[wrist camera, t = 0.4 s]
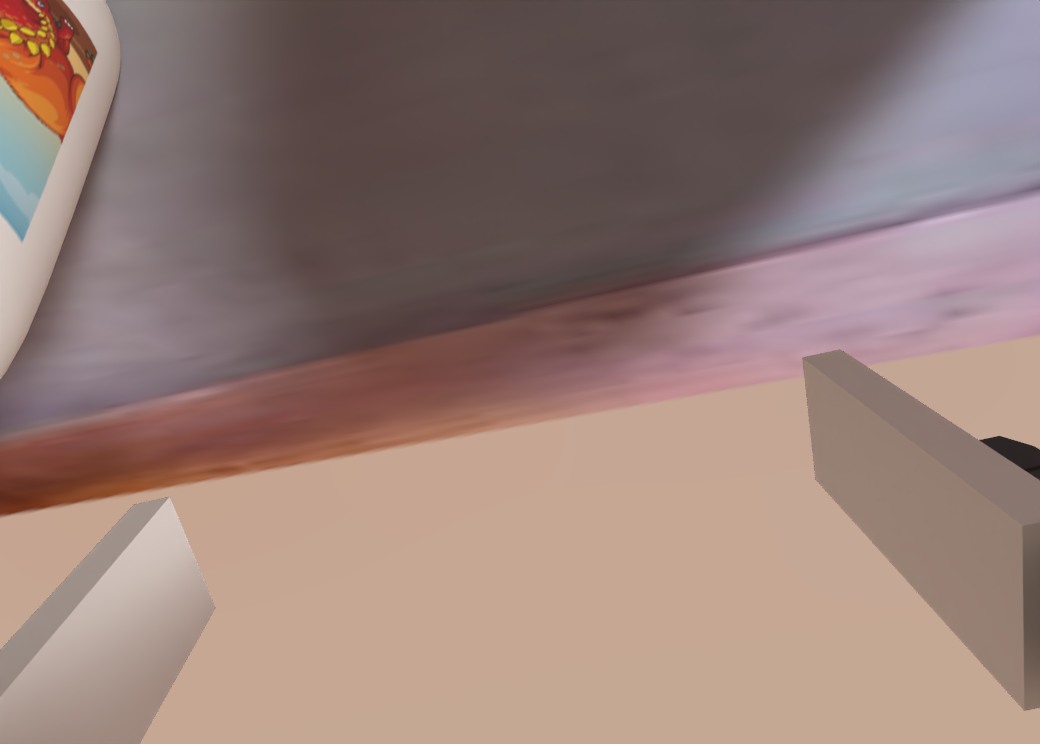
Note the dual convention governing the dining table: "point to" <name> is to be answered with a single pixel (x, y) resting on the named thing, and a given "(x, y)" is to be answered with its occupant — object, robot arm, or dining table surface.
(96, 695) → the robot arm
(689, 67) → the dining table surface
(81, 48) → the milk bottle
